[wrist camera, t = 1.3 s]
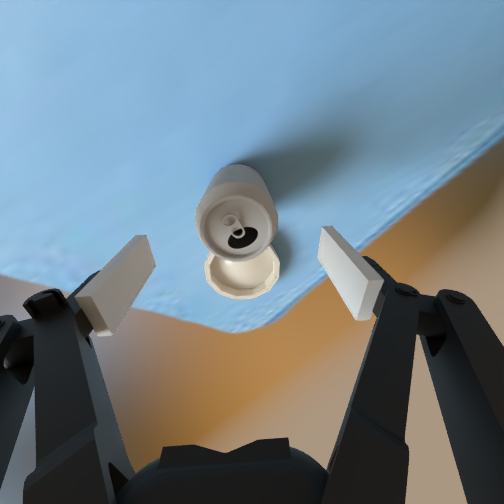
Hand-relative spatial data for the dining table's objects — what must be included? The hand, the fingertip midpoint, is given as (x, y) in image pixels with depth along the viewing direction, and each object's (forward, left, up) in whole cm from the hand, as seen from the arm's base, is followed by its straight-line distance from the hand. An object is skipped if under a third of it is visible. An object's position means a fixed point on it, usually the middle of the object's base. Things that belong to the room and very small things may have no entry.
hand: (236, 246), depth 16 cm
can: (0, 0, -14) cm, 14 cm away
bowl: (+11, 0, -14) cm, 17 cm away
